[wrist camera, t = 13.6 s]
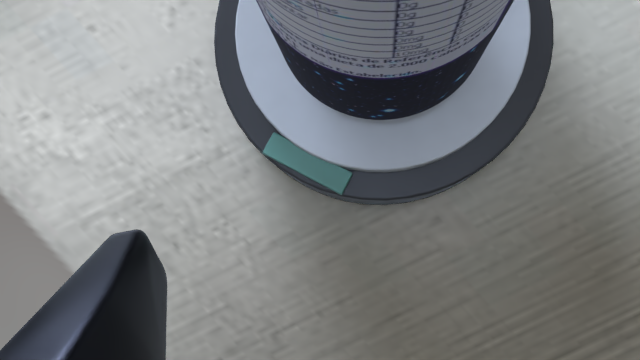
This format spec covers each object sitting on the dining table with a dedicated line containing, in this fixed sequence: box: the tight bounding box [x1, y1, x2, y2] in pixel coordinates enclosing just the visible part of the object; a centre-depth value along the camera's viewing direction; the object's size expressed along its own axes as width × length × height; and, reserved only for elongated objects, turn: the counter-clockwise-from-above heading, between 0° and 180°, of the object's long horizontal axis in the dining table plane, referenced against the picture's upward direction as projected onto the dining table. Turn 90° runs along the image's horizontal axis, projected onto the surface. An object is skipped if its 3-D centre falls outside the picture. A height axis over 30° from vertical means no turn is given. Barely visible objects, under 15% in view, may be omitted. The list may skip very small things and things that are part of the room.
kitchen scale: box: [214, 0, 553, 205], centre depth 18 cm, size 10×10×3 cm
